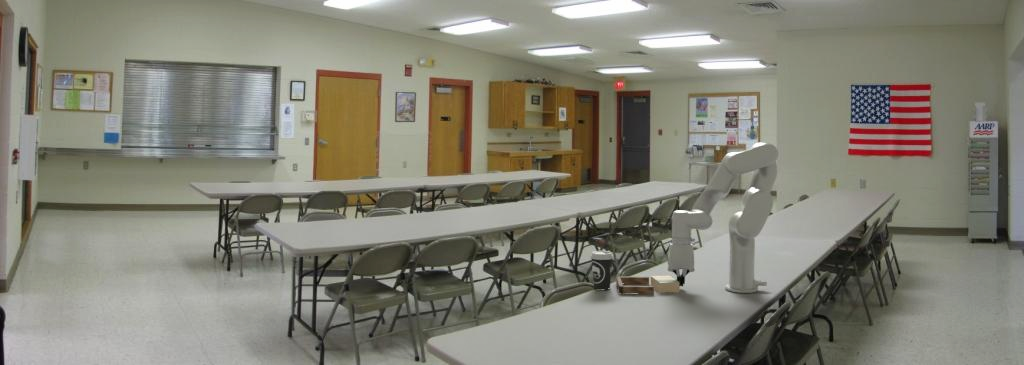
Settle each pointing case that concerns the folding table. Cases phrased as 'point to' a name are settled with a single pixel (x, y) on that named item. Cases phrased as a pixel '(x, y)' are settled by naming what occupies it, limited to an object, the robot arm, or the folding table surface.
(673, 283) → the carton
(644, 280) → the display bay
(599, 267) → the coffee cup
